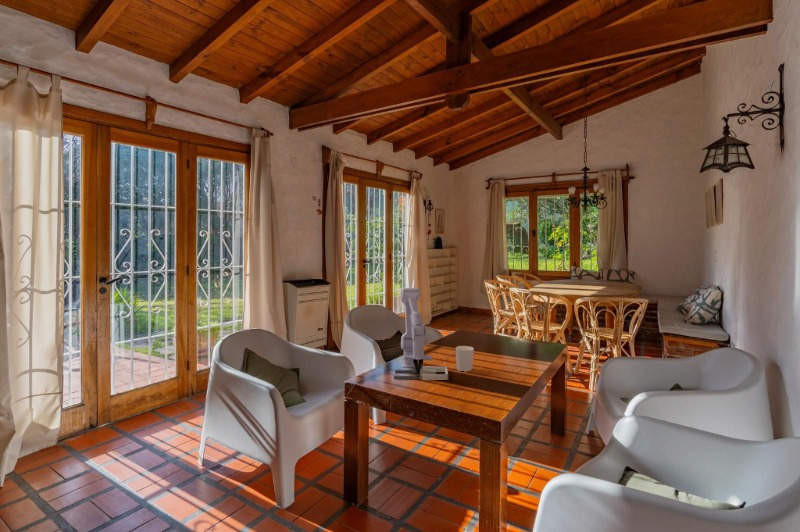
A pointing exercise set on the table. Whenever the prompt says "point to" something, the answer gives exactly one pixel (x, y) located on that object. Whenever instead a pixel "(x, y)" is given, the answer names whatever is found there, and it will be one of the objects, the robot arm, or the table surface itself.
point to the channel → (406, 376)
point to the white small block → (423, 372)
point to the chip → (431, 371)
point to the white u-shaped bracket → (435, 376)
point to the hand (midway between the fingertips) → (418, 373)
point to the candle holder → (464, 358)
